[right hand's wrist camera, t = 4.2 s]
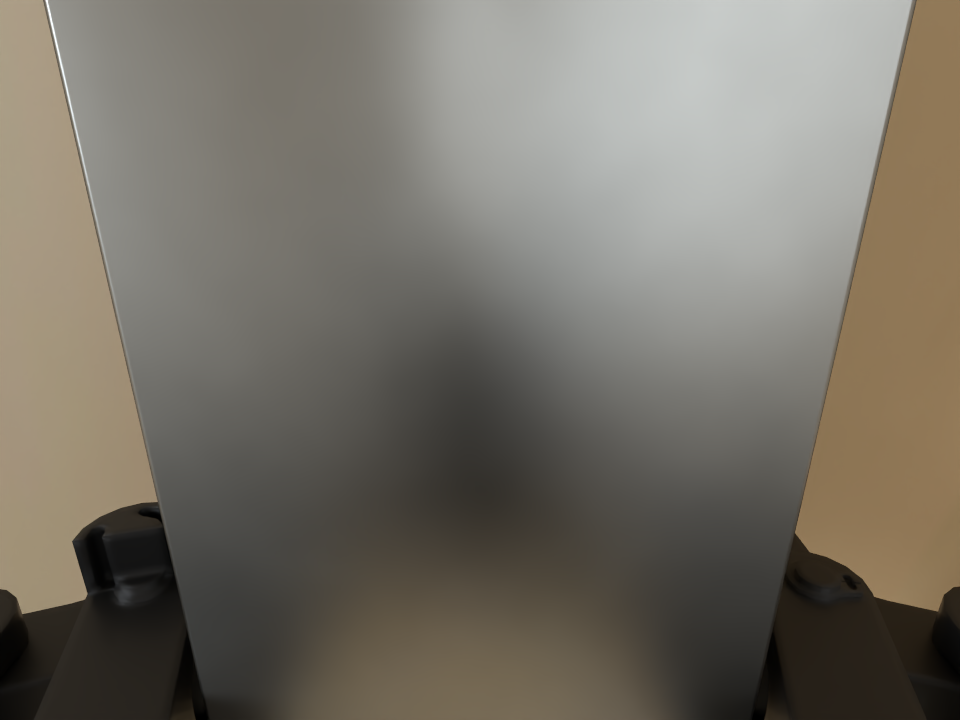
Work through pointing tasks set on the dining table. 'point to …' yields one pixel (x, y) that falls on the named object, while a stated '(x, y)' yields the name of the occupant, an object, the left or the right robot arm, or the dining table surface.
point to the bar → (479, 332)
